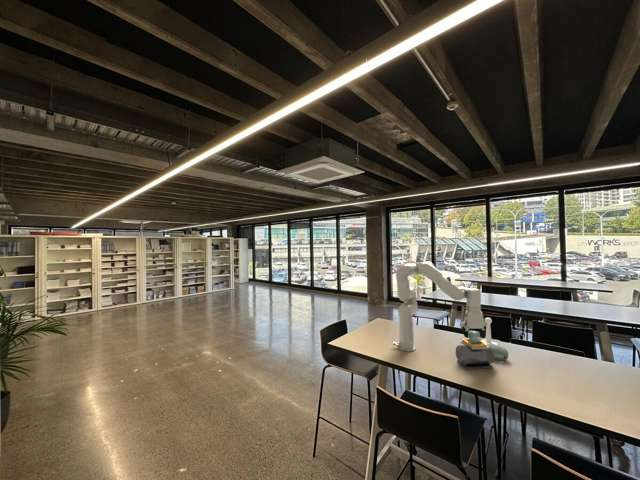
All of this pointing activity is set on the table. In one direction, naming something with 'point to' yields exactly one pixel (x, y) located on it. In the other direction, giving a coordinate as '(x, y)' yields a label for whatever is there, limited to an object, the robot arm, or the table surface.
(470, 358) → the motor
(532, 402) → the table surface
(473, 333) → the pump
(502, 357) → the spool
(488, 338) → the joystick
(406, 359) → the table surface
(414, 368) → the table surface
